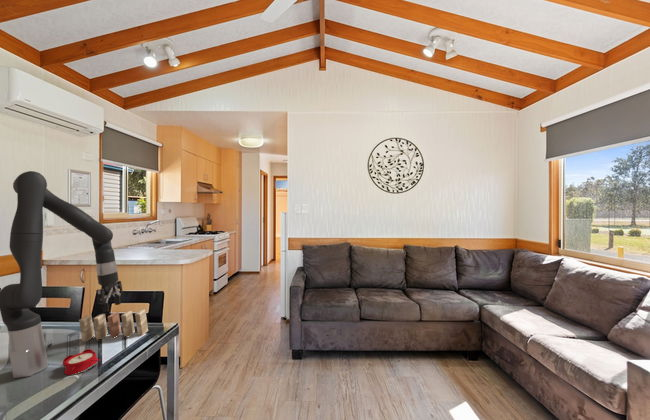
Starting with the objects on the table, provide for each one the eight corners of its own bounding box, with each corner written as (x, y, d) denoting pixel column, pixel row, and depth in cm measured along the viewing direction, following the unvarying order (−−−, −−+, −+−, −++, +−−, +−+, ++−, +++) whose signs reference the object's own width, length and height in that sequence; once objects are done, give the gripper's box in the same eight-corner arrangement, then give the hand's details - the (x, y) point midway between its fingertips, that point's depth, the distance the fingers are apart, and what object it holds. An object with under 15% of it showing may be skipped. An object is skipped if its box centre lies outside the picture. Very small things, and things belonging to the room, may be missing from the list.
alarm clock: (66, 370, 114) (58, 349, 124) (68, 385, 116) (60, 363, 126) (101, 357, 122) (91, 338, 132) (103, 371, 123) (92, 351, 133)
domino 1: (94, 336, 150) (91, 315, 150) (87, 341, 145) (83, 319, 145) (90, 336, 150) (86, 315, 150) (82, 341, 145) (79, 320, 145)
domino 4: (148, 330, 151) (145, 309, 151) (142, 335, 146) (139, 313, 146) (143, 331, 151) (140, 309, 150) (138, 336, 146) (134, 314, 145)
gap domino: (110, 338, 146) (107, 317, 145) (117, 333, 151) (114, 312, 150) (115, 338, 146) (112, 316, 145) (121, 333, 151) (118, 312, 150)
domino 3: (134, 331, 151) (131, 310, 150) (128, 337, 146) (125, 315, 145) (130, 332, 151) (127, 311, 150) (124, 337, 146) (121, 315, 145)
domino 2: (108, 334, 151) (104, 313, 150) (101, 340, 146) (97, 318, 145) (103, 335, 151) (100, 314, 150) (96, 340, 146) (93, 318, 145)
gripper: (108, 269, 153) (113, 303, 154) (87, 277, 139) (92, 314, 140) (125, 267, 153) (129, 301, 154) (105, 275, 139) (110, 313, 140)
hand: (112, 307), depth 147 cm, fingers open, 8 cm apart
